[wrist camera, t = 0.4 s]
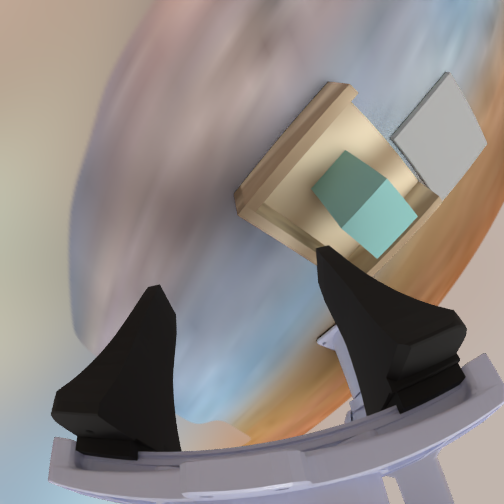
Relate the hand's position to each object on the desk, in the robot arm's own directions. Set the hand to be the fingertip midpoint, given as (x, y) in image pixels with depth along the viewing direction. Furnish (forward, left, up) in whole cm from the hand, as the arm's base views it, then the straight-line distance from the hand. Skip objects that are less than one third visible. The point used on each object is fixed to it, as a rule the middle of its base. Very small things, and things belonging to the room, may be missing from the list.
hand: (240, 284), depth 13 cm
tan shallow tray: (-6, -6, -10) cm, 13 cm away
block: (-6, -6, -10) cm, 13 cm away
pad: (-11, -16, -10) cm, 22 cm away
